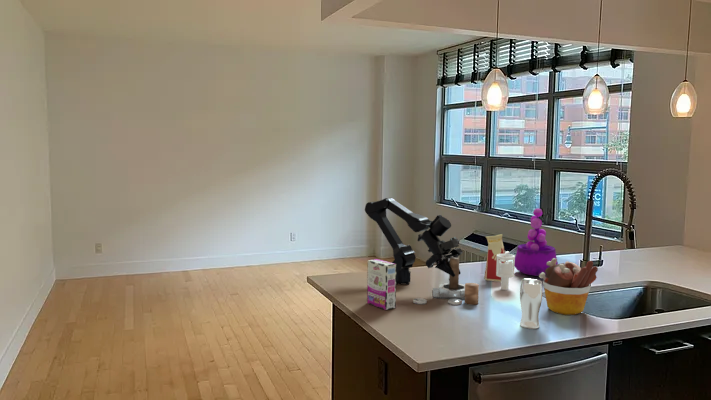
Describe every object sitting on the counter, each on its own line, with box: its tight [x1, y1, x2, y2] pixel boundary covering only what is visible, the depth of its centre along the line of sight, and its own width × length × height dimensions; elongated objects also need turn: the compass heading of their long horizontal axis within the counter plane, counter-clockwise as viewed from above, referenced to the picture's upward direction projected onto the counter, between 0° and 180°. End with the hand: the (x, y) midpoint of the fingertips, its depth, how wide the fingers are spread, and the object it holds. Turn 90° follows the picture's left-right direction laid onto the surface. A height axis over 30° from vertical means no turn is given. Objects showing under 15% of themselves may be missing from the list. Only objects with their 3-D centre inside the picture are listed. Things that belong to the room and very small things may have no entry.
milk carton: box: [483, 233, 507, 283], centre depth 242 cm, size 9×9×20 cm
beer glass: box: [519, 278, 543, 330], centre depth 183 cm, size 7×7×15 cm
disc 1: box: [412, 297, 428, 305], centre depth 209 cm, size 5×5×1 cm
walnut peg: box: [448, 257, 460, 290], centre depth 218 cm, size 4×4×13 cm
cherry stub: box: [464, 282, 480, 306], centre depth 208 cm, size 5×5×7 cm
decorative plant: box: [514, 207, 559, 277], centre depth 249 cm, size 19×18×30 cm
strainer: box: [496, 250, 516, 291], centre depth 226 cm, size 7×7×15 cm
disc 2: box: [447, 299, 463, 306], centre depth 208 cm, size 5×5×1 cm
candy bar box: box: [366, 258, 397, 311], centre depth 204 cm, size 11×5×16 cm, turn 37°
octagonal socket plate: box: [432, 282, 465, 300], centre depth 219 cm, size 16×12×3 cm
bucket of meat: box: [538, 257, 599, 316], centre depth 198 cm, size 20×16×20 cm
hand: (457, 275), depth 217 cm, fingers closed on walnut peg, 3 cm apart
